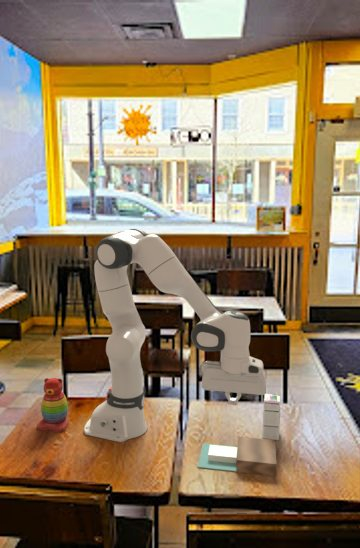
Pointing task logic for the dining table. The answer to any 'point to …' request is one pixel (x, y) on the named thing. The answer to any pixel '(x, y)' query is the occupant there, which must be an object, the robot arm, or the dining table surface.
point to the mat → (214, 464)
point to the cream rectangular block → (222, 454)
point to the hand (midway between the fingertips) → (232, 404)
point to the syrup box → (271, 416)
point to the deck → (256, 456)
